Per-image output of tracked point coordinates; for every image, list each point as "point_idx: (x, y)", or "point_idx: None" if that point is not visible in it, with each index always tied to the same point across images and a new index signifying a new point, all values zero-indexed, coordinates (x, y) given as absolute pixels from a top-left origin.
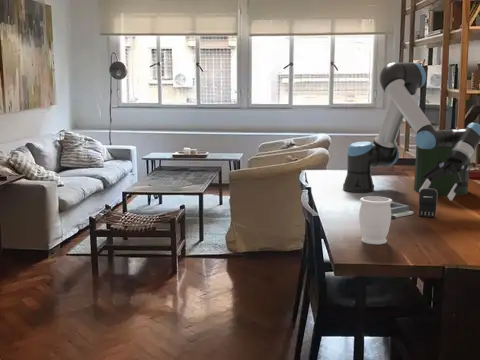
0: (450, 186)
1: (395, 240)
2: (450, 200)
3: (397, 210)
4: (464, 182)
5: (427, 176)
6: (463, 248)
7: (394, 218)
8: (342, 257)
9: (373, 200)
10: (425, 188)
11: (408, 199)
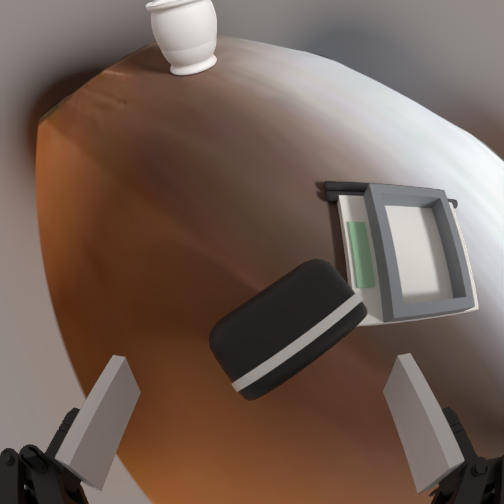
0: None
1: (167, 87)
2: (137, 391)
3: (376, 240)
4: (5, 454)
5: (479, 480)
6: (51, 154)
7: (326, 196)
8: None
9: (199, 2)
10: (326, 315)
11: None
